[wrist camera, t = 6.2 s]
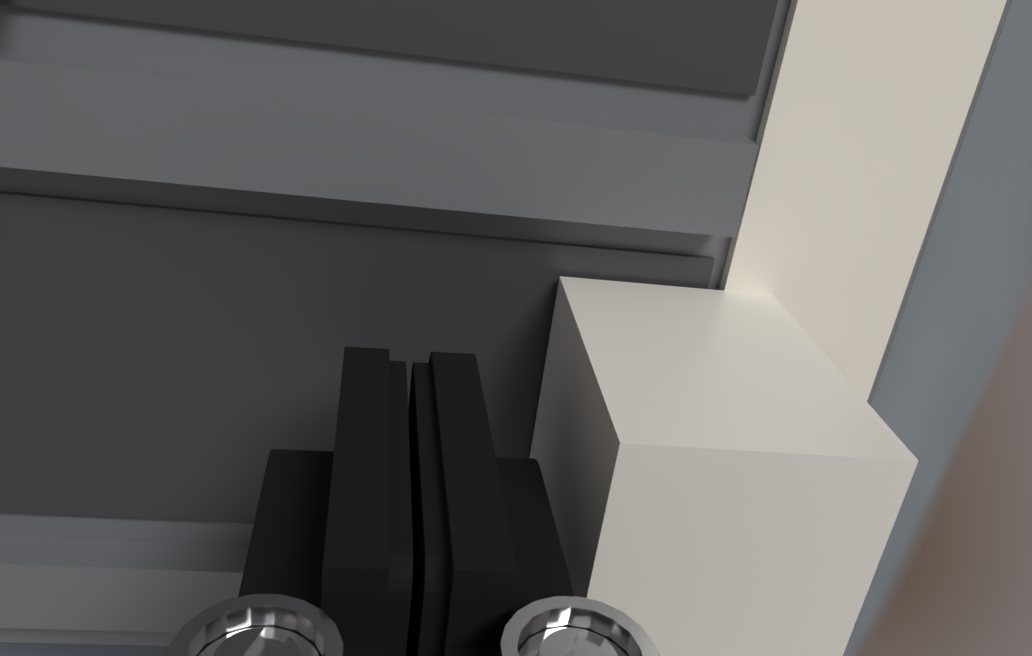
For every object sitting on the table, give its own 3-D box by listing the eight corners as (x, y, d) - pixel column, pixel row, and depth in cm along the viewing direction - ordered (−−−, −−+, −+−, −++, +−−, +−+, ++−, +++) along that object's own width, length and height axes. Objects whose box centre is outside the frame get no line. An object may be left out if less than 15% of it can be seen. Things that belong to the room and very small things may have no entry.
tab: (708, 527, 14) (807, 745, 10) (519, 518, 14) (555, 743, 10) (773, 295, 12) (918, 460, 9) (559, 276, 12) (620, 442, 8)
